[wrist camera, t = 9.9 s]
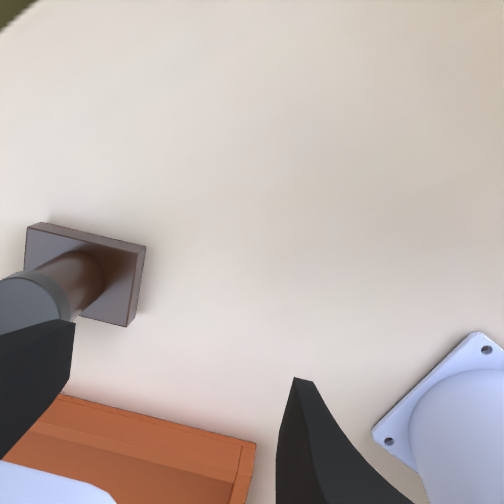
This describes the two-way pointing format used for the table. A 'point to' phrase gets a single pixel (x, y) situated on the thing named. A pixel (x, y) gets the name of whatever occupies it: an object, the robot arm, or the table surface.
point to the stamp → (72, 279)
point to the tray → (136, 455)
